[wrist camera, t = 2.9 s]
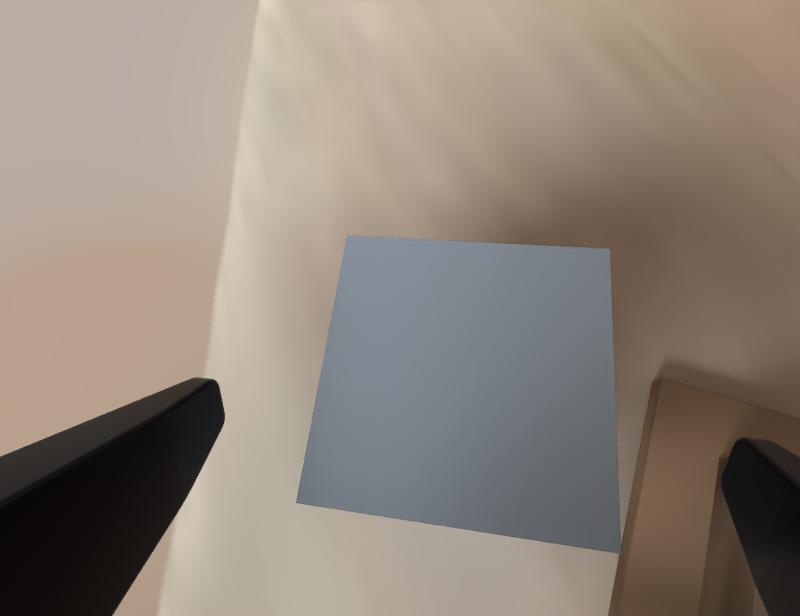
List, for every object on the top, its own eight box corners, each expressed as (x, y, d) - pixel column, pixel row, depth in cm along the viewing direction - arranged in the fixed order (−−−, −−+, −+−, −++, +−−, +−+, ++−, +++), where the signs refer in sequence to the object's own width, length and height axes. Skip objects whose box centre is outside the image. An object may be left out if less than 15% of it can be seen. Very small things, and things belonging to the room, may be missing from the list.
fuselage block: (530, 510, 15) (620, 553, 6) (384, 488, 16) (296, 502, 7) (534, 364, 16) (609, 248, 8) (402, 351, 17) (347, 235, 9)
